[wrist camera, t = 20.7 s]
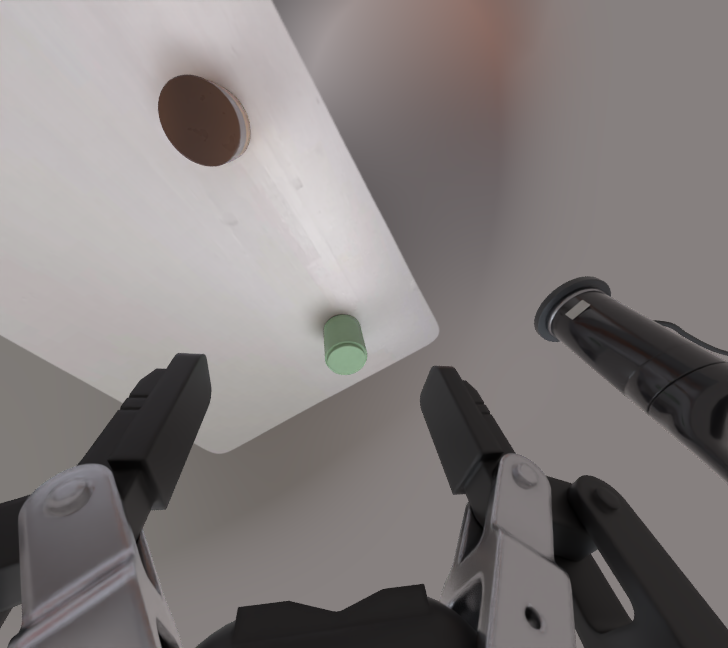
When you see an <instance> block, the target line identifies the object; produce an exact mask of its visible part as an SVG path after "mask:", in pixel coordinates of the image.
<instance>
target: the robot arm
mask: <svg viewBox="0 0 728 648" xmlns="http://www.w3.org/2000/svg"><path fill="white" fill-rule="evenodd" d="M664 326H666V327H669V328H672V329H673V330H675V331H676V332H678V333H679V334H680V335H682V336H683V337H682V336H680V335H678V334H677V333H675V332H673V331H671V330H669V329H667V328H666V327H664ZM546 328H547V331H548V332H549V333H550V334H551V335H553V336H554V337H555V338H557V339H558V340H559V341H561V342H562V343H563V344H564V345H565V346H566V347H568V348H569V349H570V350H571V351H572V352H574V353H575V354H576V355H577V356H579V358H581V359H582V360H583V361H584V362H585V363H587V364H588V365H589V366H590V367H591V368H592V369H594V370H595V371H596V372H597V373H598V374H600V375H601V376H602V377H603V378H604V379H606V380H607V381H608V382H609V383H610V384H611V385H613V386H614V387H615V388H616V389H618V390H619V391H620V392H621V393H622V394H623V395H624V396H626V397H627V398H628V399H630V400H631V401H632V402H633V403H634V404H635V405H637V406H638V407H639V408H640V409H641V410H642V411H644V412H645V413H646V414H647V415H648V416H650V417H651V418H652V419H653V420H655V421H656V422H657V423H658V424H659V425H660V426H662V427H663V428H664V429H665V430H666V431H668V433H670V434H671V435H672V436H673V437H674V438H675V439H676V440H678V441H679V442H680V443H681V444H682V445H683V446H685V447H686V448H687V449H688V450H689V451H691V452H692V453H693V454H694V455H695V456H697V458H699V459H700V460H701V461H702V462H703V463H704V464H705V465H707V466H708V467H709V468H710V469H711V470H712V471H713V472H714V473H715V474H717V475H718V476H719V477H720V478H721V479H722V480H723V481H724V482H725V483H726V484H728V362H727V361H726V360H724V359H722V358H720V357H718V356H717V355H715V354H713V353H711V352H709V351H708V350H706V349H709V350H711V351H713V352H716V353H719V354H723V355H727V356H728V352H727V351H724V350H720V349H718V348H715V347H713V346H711V345H709V344H706V343H704V342H702V341H700V340H699V339H697V338H695V337H693V336H692V335H690V334H688V333H687V332H685V331H684V330H682V329H681V328H680V327H679V326H677V325H675V324H673V323H670V322H665V321H656V320H651V319H649V318H648V317H646V316H644V315H642V314H640V313H639V312H637V311H635V310H633V309H631V308H629V307H628V306H626V305H624V304H622V303H621V302H619V301H617V300H615V299H614V298H612V297H610V296H608V295H606V294H605V293H604V292H603V291H601V290H599V289H597V288H594V287H584V288H580V289H577V290H574V291H572V292H570V293H569V294H567V295H565V296H564V297H563V298H561V299H560V300H559V301H558V302H557V303H556V304H555V305H554V306H553V308H552V309H551V311H550V312H549V314H548V316H547V319H546ZM684 337H685V338H684ZM686 338H687V339H689V340H690V341H689V340H687V339H686ZM691 341H692V342H691ZM693 342H694V343H693ZM695 343H696V344H698V345H700V346H702V347H704V348H706V349H704V348H702V347H700V346H698V345H696V344H695ZM210 399H211V382H210V376H209V370H208V364H207V358H206V356H205V355H204V354H189V353H178V354H176V355H175V357H174V358H173V359H172V361H171V363H170V364H169V366H168V367H167V369H155V370H154V371H152V372H151V373H150V374H148V375H147V376H145V377H144V378H143V379H141V380H140V381H139V382H138V384H137V385H136V387H135V388H134V389H133V391H132V392H131V393H130V396H129V398H127V399H126V400H125V402H124V403H123V404H122V406H121V408H120V410H118V411H117V412H116V414H115V415H114V417H113V418H112V419H111V421H110V422H109V423H108V425H107V426H106V427H105V429H104V430H103V432H102V433H101V434H100V436H99V437H98V438H97V440H96V441H95V442H94V444H93V445H92V446H91V448H90V449H89V451H88V452H87V453H86V455H85V456H84V457H83V459H82V460H81V461H80V462H79V464H78V465H77V466H75V467H72V468H70V469H67V470H65V471H63V472H61V473H59V474H57V475H55V476H53V477H52V478H50V479H49V480H47V481H46V482H44V483H43V484H42V485H40V486H39V487H38V488H37V489H36V490H35V491H34V492H33V493H32V494H31V495H27V496H24V497H21V498H18V499H14V500H11V501H7V502H4V503H1V504H0V628H1V626H2V624H3V623H4V621H5V619H6V618H7V616H8V614H9V612H10V611H11V609H12V608H13V607H15V606H17V605H20V604H22V625H21V629H20V631H19V633H18V634H17V635H15V636H14V637H13V638H12V639H11V640H10V642H9V644H8V647H7V648H183V646H182V643H181V639H180V636H179V634H178V630H177V627H176V625H175V622H174V619H173V616H172V614H171V612H170V609H169V607H168V605H167V602H166V599H165V597H164V594H163V591H162V587H161V584H160V581H159V578H158V575H157V571H156V568H155V565H154V562H153V559H152V556H151V552H150V549H149V546H148V543H147V540H146V537H145V533H144V530H143V526H144V524H145V521H146V519H147V517H148V514H149V513H150V510H163V509H166V508H167V506H168V504H169V501H170V499H171V496H172V493H173V491H174V489H175V486H176V484H177V481H178V479H179V477H180V474H181V472H182V469H183V467H184V465H185V462H186V460H187V457H188V455H189V452H190V450H191V447H192V445H193V443H194V440H195V438H196V435H197V433H198V431H199V428H200V426H201V423H202V421H203V418H204V416H205V413H206V411H207V409H208V406H209V403H210ZM420 406H421V410H422V413H423V415H424V418H425V421H426V423H427V426H428V429H429V431H430V434H431V437H432V439H433V442H434V445H435V447H436V450H437V453H438V456H439V458H440V460H441V464H442V466H443V469H444V472H445V474H446V477H447V479H448V482H449V485H450V488H451V490H452V493H453V495H455V494H466V496H467V498H468V501H469V502H468V504H467V505H466V508H465V512H464V517H463V521H462V526H461V530H460V535H459V539H458V544H457V548H456V553H455V558H454V562H453V565H452V568H451V571H450V573H449V575H448V577H447V579H446V582H445V584H444V587H443V590H442V593H441V597H440V601H437V600H435V599H432V598H430V597H427V595H426V590H425V586H424V584H419V585H411V586H403V587H395V588H387V589H382V590H380V591H378V592H376V593H374V594H372V595H371V596H369V597H367V598H365V599H363V600H361V601H359V602H358V603H356V604H353V605H352V606H350V607H348V608H346V609H344V610H342V611H338V612H335V611H329V610H325V609H320V608H317V607H312V606H308V605H304V604H299V603H295V602H291V601H284V602H277V603H269V604H261V605H253V606H244V607H239V608H238V611H237V616H236V620H235V621H233V622H231V623H229V624H227V625H225V626H224V627H222V628H221V629H219V630H218V631H216V632H214V633H213V634H211V635H210V636H209V637H208V638H206V639H205V640H204V641H203V642H201V643H200V644H199V645H198V646H197V647H196V648H576V637H575V629H576V631H577V633H578V635H579V637H580V640H581V642H582V644H583V646H584V648H728V629H727V628H726V627H725V625H724V624H723V623H722V622H721V620H720V619H719V618H718V616H717V615H716V614H715V613H714V611H713V610H712V609H711V608H710V606H709V605H708V604H707V602H706V601H705V600H704V599H703V597H702V596H701V595H700V594H699V593H698V591H697V590H696V589H695V588H694V586H693V585H692V584H691V582H690V581H689V580H688V579H687V577H686V576H685V575H684V574H683V572H682V571H681V570H680V569H679V567H678V566H677V565H676V563H675V562H674V561H673V560H672V558H671V557H670V556H669V555H668V553H667V552H666V551H665V550H664V548H663V547H662V546H661V545H660V543H659V542H658V541H657V539H656V538H655V537H654V536H653V534H652V533H651V532H650V531H649V529H648V528H647V527H646V526H645V524H644V523H643V522H642V521H641V519H640V518H639V517H638V516H637V514H636V513H635V512H634V510H633V509H632V508H631V507H630V505H629V504H628V503H627V502H626V500H625V499H624V498H623V497H622V496H621V495H620V494H619V493H618V492H617V491H616V490H615V489H614V488H613V487H611V486H610V485H608V484H607V483H605V482H604V481H602V480H600V479H598V478H596V477H593V476H588V475H584V476H581V477H579V478H578V479H577V480H576V481H575V482H574V483H573V484H571V483H568V482H565V481H562V480H558V479H555V478H552V477H548V476H545V474H544V473H543V471H542V470H541V469H540V468H539V467H538V466H537V465H536V464H535V463H534V462H532V461H531V460H529V459H528V458H526V457H524V456H522V455H519V454H516V453H515V452H514V450H513V449H512V447H511V445H510V444H509V442H508V440H507V439H506V437H505V436H504V434H503V433H502V431H501V429H500V427H499V426H498V424H497V423H496V421H495V419H494V418H493V416H492V415H490V411H489V410H488V408H487V407H486V405H484V402H483V400H482V399H481V397H480V395H479V394H478V392H477V390H475V389H474V388H473V387H472V386H471V385H470V384H469V383H468V382H467V381H464V380H462V379H461V377H460V376H459V374H458V372H457V371H456V369H455V368H453V367H449V366H433V367H432V368H431V370H430V372H429V375H428V377H427V380H426V382H425V384H424V387H423V389H422V392H421V396H420ZM597 549H598V550H599V552H600V553H601V555H602V556H603V558H604V559H605V561H606V563H607V564H608V566H609V567H610V569H611V570H612V572H613V574H614V575H615V577H616V578H617V580H618V581H619V583H620V585H621V586H622V588H623V590H624V591H625V593H626V594H627V596H628V597H629V599H630V601H631V603H632V606H633V609H634V620H633V621H632V620H631V619H630V617H629V616H628V614H627V613H626V611H625V610H624V608H623V607H622V605H621V603H620V601H619V600H618V598H617V596H616V595H615V593H614V591H613V590H612V588H611V587H610V585H609V583H608V582H607V580H606V578H605V577H604V575H603V573H602V572H601V570H600V568H599V567H598V565H597V563H596V562H595V560H594V558H593V557H592V555H591V553H593V552H594V551H596V550H597Z"/></svg>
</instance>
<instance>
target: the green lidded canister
mask: <svg viewBox="0 0 728 648" xmlns="http://www.w3.org/2000/svg"><path fill="white" fill-rule="evenodd" d="M324 348H325V362H326V364H327V366H328V367H329V368H330V369H331V370H332V371H333V372H335V373H337V374H341V375H349V374H353V373H356V372H357V371H359V370H360V369H361V368H362V367H363V366H364V364H365V362H366V360H367V351H366V347H365V343H364V339H363V335H362V331H361V327H360V324H359V322H358V321H357V320H356V319H355V318H354V317H352V316H349V315H337V316H334V317H332V318H331V319H329V320H328V321H327V323H326V324H325V326H324Z"/></svg>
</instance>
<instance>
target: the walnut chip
mask: <svg viewBox="0 0 728 648" xmlns="http://www.w3.org/2000/svg"><path fill="white" fill-rule="evenodd" d="M158 112H159V118H160V122H161V125H162V128H163V130H164V132H165V134H166V136H167V137H168V139H169V141H170V142H171V143H172V145H173V146H174V147H175V148H176V149H177V150H178V151H179V152H180V153H181V154H182V155H184V156H185V157H186V158H188V159H189V160H191V161H193V162H195V163H197V164H200V165H204V166H220V165H223V164H225V163H228V162H231V161H233V160H234V159H236V158H237V157H238V156H239V155H240V153H241V152H242V150H243V148H244V145H245V142H246V126H245V121H244V118H243V115H242V113H241V111H240V109H239V107H238V105H237V104H236V102H235V101H234V100H233V98H232V97H231V96H230V95H229V94H228V93H227V92H226V91H225V90H223V89H222V88H221V87H219V86H218V85H216V84H214V83H212V82H210V81H208V80H206V79H204V78H201V77H198V76H194V75H180V76H177V77H174V78H173V79H171V80H169V81H168V82H167V83H166V84H165V86H164V87H163V89H162V91H161V93H160V96H159V102H158Z"/></svg>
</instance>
